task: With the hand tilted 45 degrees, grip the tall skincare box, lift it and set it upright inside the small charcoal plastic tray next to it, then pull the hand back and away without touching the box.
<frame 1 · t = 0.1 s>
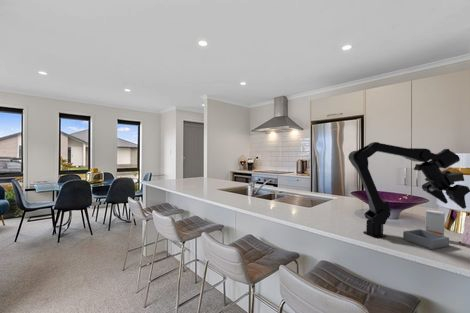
hand: (455, 205, 92), 15 cm above the countertop, tool tilted 35°, fingers open, 9 cm apart
tray: (425, 242, 90), on the countertop
skincare box: (434, 239, 94), on the countertop
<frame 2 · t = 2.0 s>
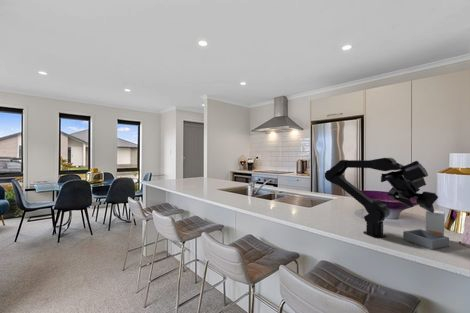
hand: (422, 209, 93), 13 cm above the countertop, tool tilted 45°, fingers open, 9 cm apart
nothing on the countertop moved.
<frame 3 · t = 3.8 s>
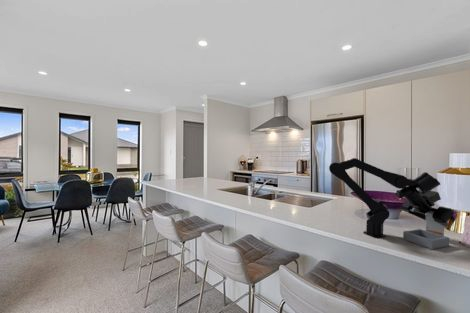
hand: (436, 223, 94), 7 cm above the countertop, tool tilted 45°, fingers open, 8 cm apart
skincare box: (434, 239, 94), on the countertop, touching gripper
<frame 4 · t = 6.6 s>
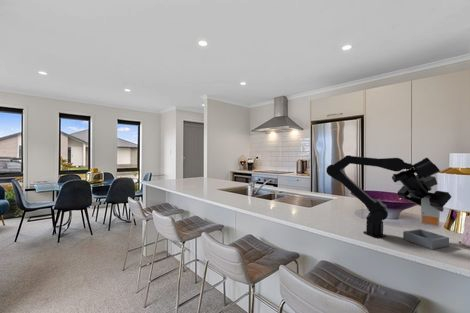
hand: (433, 208, 93), 13 cm above the countertop, tool tilted 45°, fingers closed on skincare box, 7 cm apart
skincare box: (429, 224, 93), point 6 cm above the countertop, touching gripper
when the fingers open (8 cm above the countertop, at t = 9.1 s): skincare box stays where it is, resting on tray.
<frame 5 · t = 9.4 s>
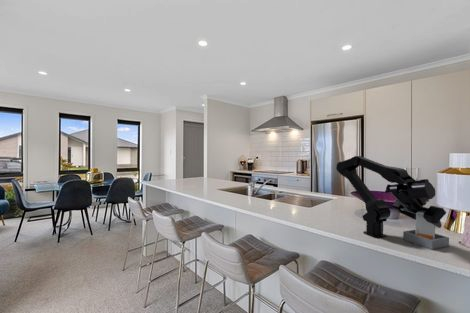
hand: (428, 223, 90), 8 cm above the countertop, tool tilted 45°, fingers open, 9 cm apart
skincare box: (424, 242, 89), resting on tray
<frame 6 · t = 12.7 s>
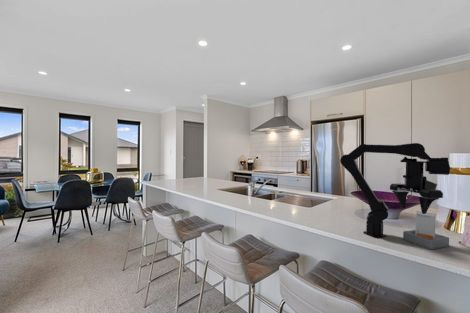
hand: (413, 210, 90), 13 cm above the countertop, tool pointing down, fingers open, 9 cm apart
nothing on the countertop moved.
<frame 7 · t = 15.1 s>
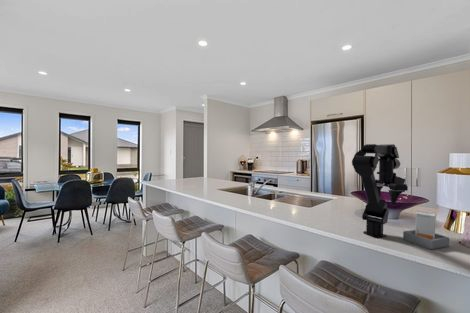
hand: (385, 202, 105), 13 cm above the countertop, tool pointing down, fingers open, 9 cm apart
nothing on the countertop moved.
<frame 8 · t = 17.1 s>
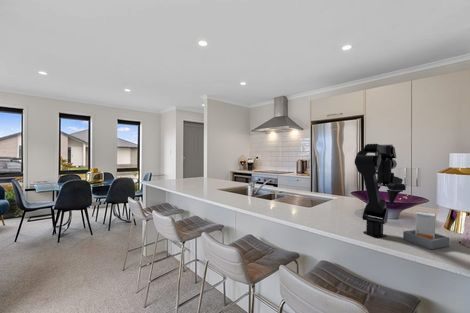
hand: (383, 202, 106), 13 cm above the countertop, tool pointing down, fingers open, 9 cm apart
nothing on the countertop moved.
at the end: skincare box inside the target area on the tray (0.3 cm from its centre), point 0.1 cm above the tray's base; skincare box tilted 0°; the gripper is holding nothing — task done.
